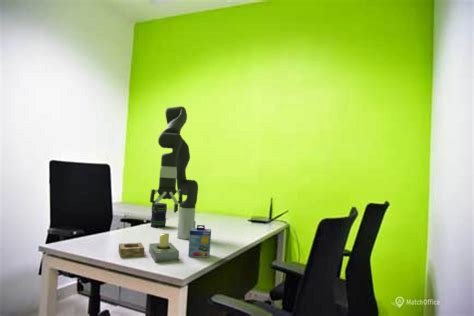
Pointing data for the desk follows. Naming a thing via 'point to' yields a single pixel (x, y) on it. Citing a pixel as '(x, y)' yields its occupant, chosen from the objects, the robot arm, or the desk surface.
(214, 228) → the desk surface
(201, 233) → the ink cartridge box
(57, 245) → the desk surface
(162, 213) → the storage jar
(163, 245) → the axle
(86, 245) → the desk surface
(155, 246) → the block with square hole
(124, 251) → the socket block
